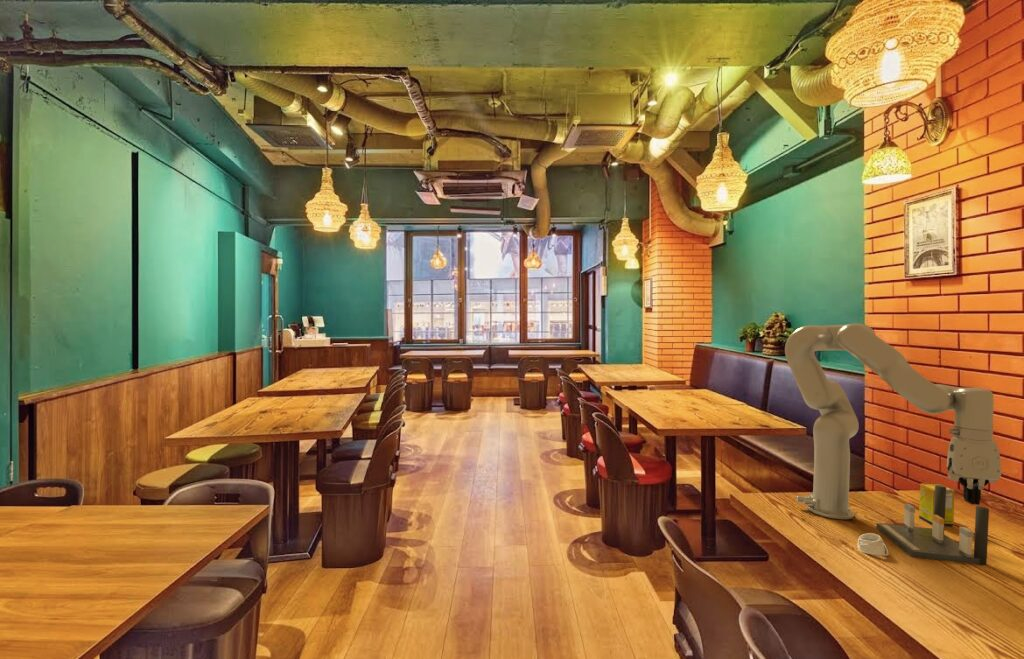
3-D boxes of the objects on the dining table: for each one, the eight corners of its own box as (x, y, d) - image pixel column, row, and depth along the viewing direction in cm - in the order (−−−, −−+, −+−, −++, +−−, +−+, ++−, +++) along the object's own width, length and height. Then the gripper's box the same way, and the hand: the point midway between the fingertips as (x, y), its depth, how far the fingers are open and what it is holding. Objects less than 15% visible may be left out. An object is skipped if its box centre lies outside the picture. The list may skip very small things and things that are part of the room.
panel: (912, 556, 127) (912, 549, 127) (876, 528, 144) (876, 521, 144) (980, 564, 124) (980, 556, 124) (935, 533, 141) (935, 527, 141)
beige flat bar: (909, 527, 140) (910, 507, 140) (903, 523, 143) (904, 503, 143) (914, 528, 140) (915, 507, 140) (907, 523, 143) (908, 503, 143)
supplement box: (938, 518, 153) (940, 483, 152) (953, 526, 147) (955, 490, 146) (918, 517, 153) (919, 482, 153) (932, 525, 147) (934, 489, 147)
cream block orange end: (938, 540, 132) (939, 518, 132) (931, 535, 135) (932, 514, 135) (943, 540, 132) (944, 519, 132) (936, 535, 135) (937, 514, 135)
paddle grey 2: (966, 554, 124) (967, 531, 124) (958, 548, 127) (959, 526, 127) (971, 554, 124) (972, 532, 124) (963, 549, 127) (964, 526, 127)
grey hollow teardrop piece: (893, 564, 125) (896, 546, 124) (862, 557, 127) (865, 539, 126) (880, 548, 132) (884, 531, 132) (852, 542, 134) (855, 525, 134)
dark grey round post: (977, 564, 124) (980, 509, 123) (931, 532, 142) (933, 484, 142) (989, 565, 123) (991, 510, 123) (940, 533, 142) (942, 485, 141)
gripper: (949, 435, 129) (948, 505, 129) (1017, 439, 126) (1016, 510, 126) (931, 429, 136) (930, 495, 137) (995, 432, 133) (994, 500, 133)
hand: (971, 502), depth 131 cm, fingers closed
